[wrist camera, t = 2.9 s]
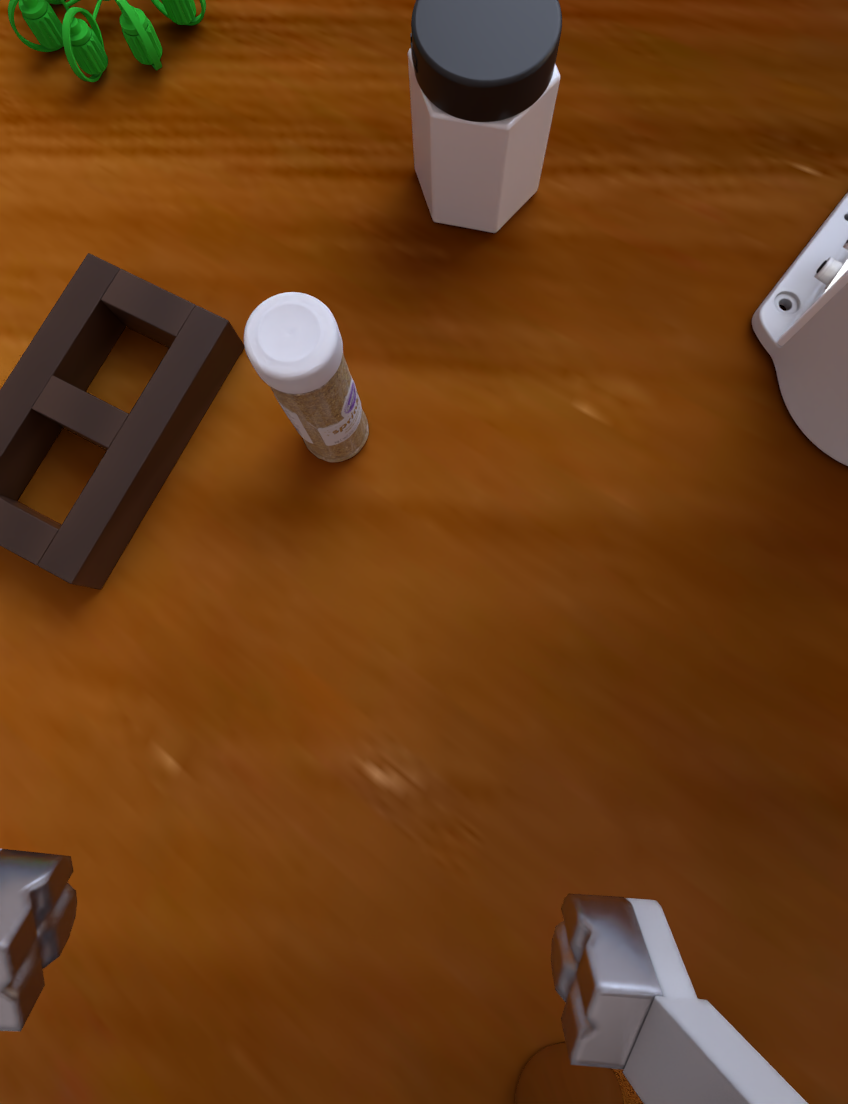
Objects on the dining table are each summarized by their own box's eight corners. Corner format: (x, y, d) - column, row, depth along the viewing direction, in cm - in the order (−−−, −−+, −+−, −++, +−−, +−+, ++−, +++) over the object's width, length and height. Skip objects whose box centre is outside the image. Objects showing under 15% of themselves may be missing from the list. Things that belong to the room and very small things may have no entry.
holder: (-34, 517, 43) (-75, 504, 40) (114, 282, 46) (87, 252, 42) (101, 590, 42) (70, 584, 39) (245, 346, 45) (228, 320, 41)
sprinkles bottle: (369, 462, 43) (336, 377, 30) (301, 464, 43) (239, 379, 30) (369, 398, 44) (337, 286, 31) (302, 399, 44) (242, 289, 31)
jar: (474, 106, 47) (485, -77, 35) (559, 172, 46) (599, 5, 34) (391, 188, 46) (373, 29, 35) (475, 257, 45) (487, 117, 34)
